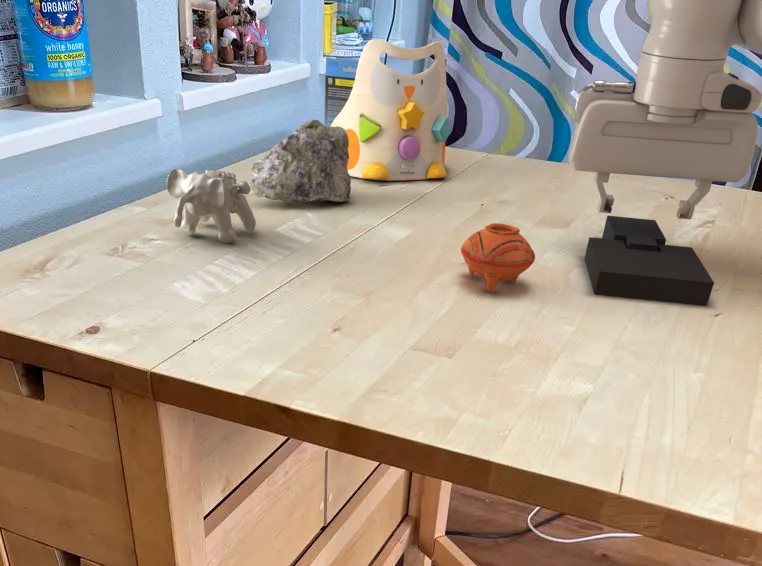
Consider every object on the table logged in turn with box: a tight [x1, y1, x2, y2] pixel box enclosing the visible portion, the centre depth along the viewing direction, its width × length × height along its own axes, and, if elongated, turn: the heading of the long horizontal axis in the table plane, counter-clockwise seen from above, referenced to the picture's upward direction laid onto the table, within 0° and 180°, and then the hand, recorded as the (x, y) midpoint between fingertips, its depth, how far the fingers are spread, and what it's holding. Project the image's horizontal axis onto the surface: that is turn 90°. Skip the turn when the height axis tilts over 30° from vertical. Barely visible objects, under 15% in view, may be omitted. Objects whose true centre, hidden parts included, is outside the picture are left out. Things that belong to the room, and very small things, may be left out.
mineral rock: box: [249, 118, 352, 204], centre depth 107 cm, size 13×11×10 cm
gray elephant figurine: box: [166, 168, 257, 244], centre depth 92 cm, size 9×12×8 cm
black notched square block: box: [584, 237, 715, 306], centre depth 91 cm, size 12×12×2 cm
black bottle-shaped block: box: [601, 215, 667, 251], centre depth 98 cm, size 6×11×3 cm, turn 172°
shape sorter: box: [331, 38, 452, 182], centre depth 119 cm, size 20×10×18 cm, turn 111°
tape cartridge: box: [323, 57, 365, 127], centre depth 138 cm, size 9×4×12 cm, turn 74°
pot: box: [460, 222, 536, 294], centre depth 87 cm, size 8×8×7 cm
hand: (643, 214), depth 97 cm, fingers open, 8 cm apart
